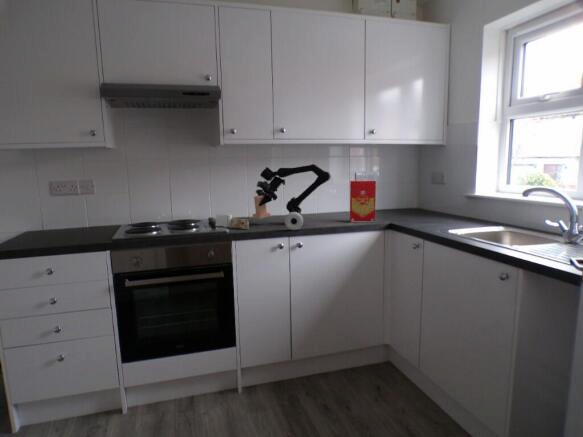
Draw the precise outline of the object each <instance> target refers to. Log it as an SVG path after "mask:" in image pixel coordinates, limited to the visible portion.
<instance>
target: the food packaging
mask: <svg viewBox="0 0 583 437" xmlns="http://www.w3.org/2000/svg"><path fill="white" fill-rule="evenodd" d="M376 181H377V180H350V183H349V222H350V221H375V222H376V192H377V191H376V188H377V182H376Z"/></svg>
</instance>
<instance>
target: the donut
mask: <svg viewBox="0 0 583 437" xmlns="http://www.w3.org/2000/svg"><path fill="white" fill-rule="evenodd" d="M293 218H295V219H297V223H296V224H292V223H291V219H293ZM284 224H285V226H286V228H287V229H288V230H291V231H297V230H299V229H301V228H302V226H303V224H304V218H303V216H302V214H301V215H300V214H299V213H297V212H291V213H289V212H288V213H287V215H286V216H285V218H284Z"/></svg>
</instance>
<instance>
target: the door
mask: <svg viewBox="0 0 583 437" xmlns="http://www.w3.org/2000/svg"><path fill="white" fill-rule="evenodd" d="M231 226H232V227H231V228H235V229H243V230H249V229H250V224H249V219H242V218H234V217H232V218H231Z"/></svg>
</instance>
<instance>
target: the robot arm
mask: <svg viewBox="0 0 583 437" xmlns="http://www.w3.org/2000/svg"><path fill="white" fill-rule="evenodd" d="M308 172H313V174H314V175H316V176H317V177H316V178H315V180H314V182H313V183H311V184H310V185H309V186H308V187H307V188H305V190H304V191H303V192H301V193H300V194H299V195H298V196H297V197H295V196H293V197H291V198H290V200H289V201H287V203H286V205H285V206H286V207H285V208H286V210H287V211H288V214H289V213H291V212H297V213H299V214H300V215H301V216H302V213H301V212H302V208H301V207H300V205H301V204H302V202H303V201H305V200H306V199H307V198H308V197H309V196H310V195H311V194H312V193H313V192H314V191H315V190H317V189H318V188H319V187H320V186H322V185H323V184H325V183H327V182H328V181H330V179H331V178H332V176H331V173H330V172H328V171H327V170H326V171H325V170H323V169H322V168H320V167H319V166H318V165H317V164H315V163H313V164H308V165H302V166H296V167H280V168H278V169H277V170H276V171H273V170H271V169H270V167H268V166H266V167H265V168H264V169H263V170H262V171H261V173H260V177H261V178H263V179H264V181H260V180H258V181H257V184H256V187H257V189H256V190H255V194H257V196H260V195H262V196H263V199H262V200H261V202H260V203H259V206H262V205H264V204H266V205H267V204H268V203H271V202H272V201H276V200H277V199H278V195H277V194H276V193H275V192H278V188H280V186H281V185H284V186H285V185H286V178H287V177H290V176H292V175H293V176H294V175H295V174H303V173H308ZM283 178H285V179H283ZM258 188H259V189H258ZM291 223H292V224H296V223H297V219H295V218H293V219H291Z"/></svg>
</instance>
